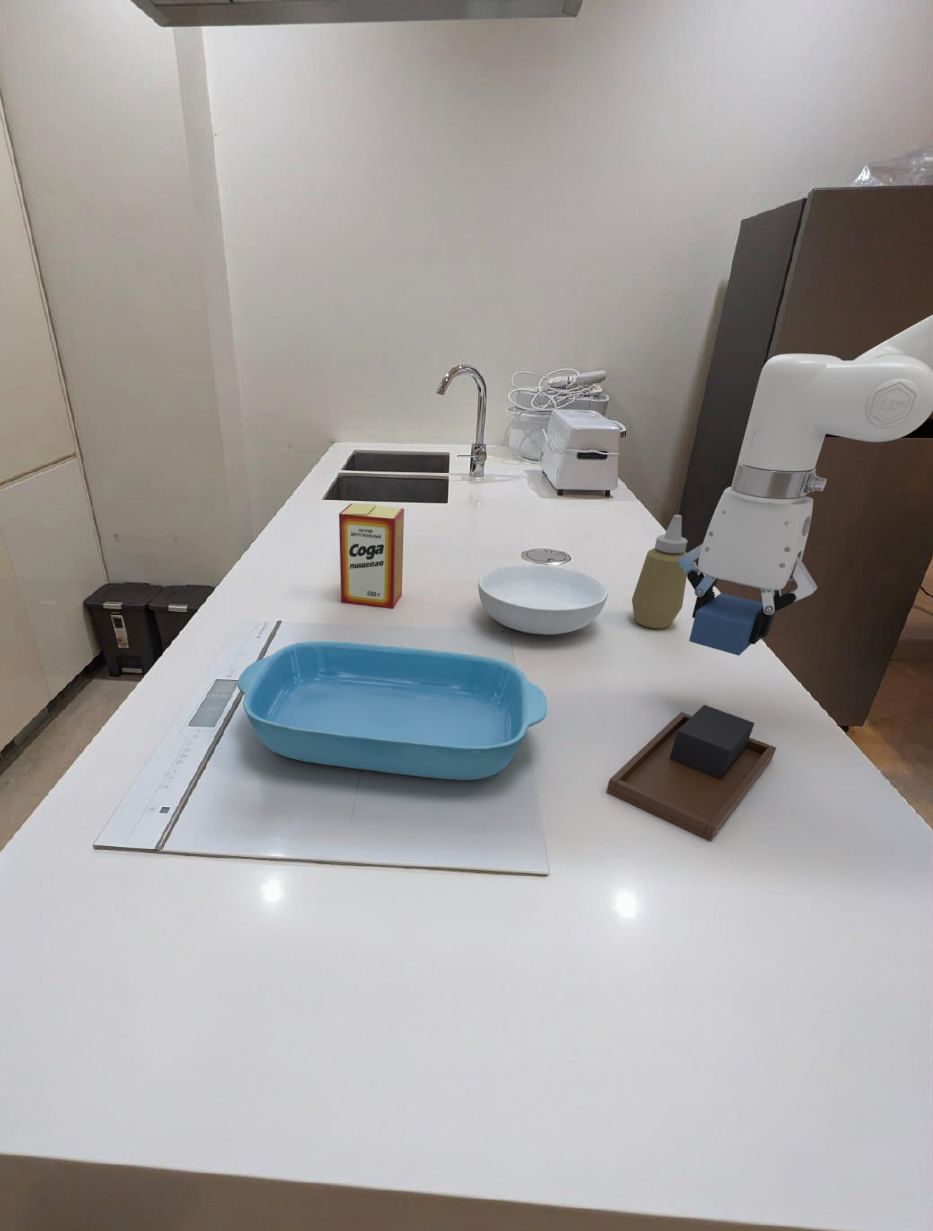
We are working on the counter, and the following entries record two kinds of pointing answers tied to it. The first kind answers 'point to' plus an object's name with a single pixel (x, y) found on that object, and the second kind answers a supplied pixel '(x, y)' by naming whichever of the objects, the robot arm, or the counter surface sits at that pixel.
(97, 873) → the counter surface
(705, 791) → the brown wooden tray
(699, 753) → the black block
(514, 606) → the serving bowl
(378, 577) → the baking soda box
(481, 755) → the casserole dish
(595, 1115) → the counter surface
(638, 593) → the squeeze bottle
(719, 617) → the blue rectangular block
